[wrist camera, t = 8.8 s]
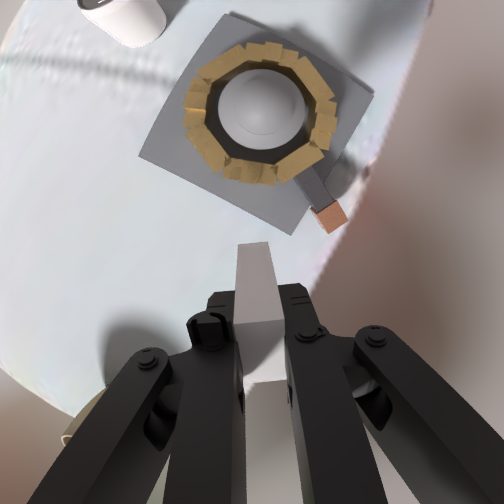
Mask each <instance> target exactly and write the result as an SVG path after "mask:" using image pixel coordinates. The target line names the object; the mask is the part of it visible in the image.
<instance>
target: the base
mask: <svg viewBox="0 0 504 504" xmlns="http://www.w3.org/2000/svg"><path fill="white" fill-rule="evenodd" d="M247 42H248V43H255V44H261V45H265V42H272V43H277V44H282V45H283V46H282V48H283V49H288V50H293V51H297V52H299V53H298V59H300V58H302V57H304V56H306V57H307V59H308V60H309V61H310V62H311V64H312V65H313V66H314V68H315V69H316V70H317V71H318V73H319V74H320V75H321V77H322V78H323V79H324V81H325V82H326V84H327V85H328V86H329V88H330V89H331V91H332V92H333V93H334V95H335V96H334V97H333V98H331V99H329V100H328V101H332V102H335V103H337V106H336V112H335V117H337V118H338V119H337V125H336V130H335V134H332V135H331V140H330V146H329V151H326V150H321V152H322V153H323V155H324V157H323V158H322V159H320V160H319V161H317V162H316V163H314V164H313V165H312V167H313V169H314V170H315V172H316V173H317V175H318V176H319V178H320V180H321V181H322V183H324V181H325V180H326V178H327V176H328V175H329V173H330V171H331V170H332V168H333V166H334V165H335V163H336V161H337V159H338V158H339V156H340V154H341V153H342V151H343V149H344V148H345V146H346V144H347V143H348V141H349V139H350V137H351V136H352V134H353V132H354V131H355V129H356V127H357V125H358V124H359V122H360V120H361V118H362V117H363V115H364V113H365V112H366V110H367V108H368V106H369V105H370V103H371V101H372V99H373V97H374V96H373V95H372V94H371V93H369V92H368V91H367V90H365V89H364V88H363V87H361V86H360V85H358V84H357V83H356V82H354V81H353V80H351V79H350V78H349V77H347V76H346V75H344V74H343V73H341V72H340V71H338V70H337V69H335V68H334V67H332V66H330V65H329V64H327V63H326V62H324V61H322V60H321V59H319V58H317V57H316V56H314V55H312V54H311V53H309V52H307V51H305V50H304V49H302V48H300V47H298V46H296V45H295V44H293V43H291V42H289V41H287V40H285V39H283V38H281V37H279V36H277V35H275V34H273V33H271V32H268V31H266V30H264V29H262V28H260V27H257V26H255V25H253V24H250V23H248V22H246V21H243V20H241V19H238V18H236V17H233V16H230V15H228V14H224V15H223V16H222V18H221V19H220V20H219V21H218V23H217V24H216V25H215V27H214V28H213V29H212V31H211V32H210V33H209V35H208V36H207V37H206V39H205V40H204V42H203V43H202V44H201V46H200V47H199V49H198V50H197V52H196V53H195V55H194V56H193V58H192V59H191V61H190V62H189V64H188V65H187V67H186V68H185V70H184V72H183V73H182V75H181V76H180V78H179V80H178V81H177V83H176V85H175V86H174V88H173V90H172V91H171V93H170V95H169V97H168V98H167V100H166V102H165V104H164V105H163V107H162V109H161V111H160V113H159V115H158V117H157V118H156V120H155V122H154V124H153V126H152V128H151V130H150V132H149V134H148V136H147V138H146V140H145V142H144V145H143V147H142V149H141V151H140V153H139V155H138V156H139V157H141V158H143V159H145V160H147V161H149V162H151V163H153V164H155V165H157V166H159V167H161V168H163V169H165V170H167V171H169V172H171V173H173V174H175V175H177V176H179V177H181V178H183V179H185V180H187V181H189V182H191V183H193V184H195V185H197V186H199V187H201V188H203V189H205V190H207V191H209V192H210V193H212V194H214V195H216V196H218V197H220V198H222V199H224V200H226V201H228V202H230V203H231V204H233V205H235V206H237V207H239V208H241V209H243V210H245V211H246V212H248V213H250V214H252V215H254V216H256V217H258V218H259V219H261V220H263V221H265V222H267V223H269V224H270V225H272V226H274V227H276V228H278V229H280V230H281V231H283V232H285V233H287V234H289V235H290V236H291V235H292V233H293V232H294V230H295V228H296V227H297V225H298V224H299V222H300V220H301V219H302V217H303V216H304V214H305V212H306V211H307V209H308V207H309V206H310V203H309V202H308V200H307V199H306V197H305V196H304V194H303V193H302V191H301V190H300V188H299V187H298V185H297V184H296V182H295V181H294V179H293V178H291V179H290V180H288V181H287V182H286V183H284V184H283V185H282V184H281V183H280V182H279V181H278V180H277V179H276V182H275V186H270V185H264V184H251V183H244V182H240V181H239V180H232V179H226V178H222V175H223V169H224V168H223V169H222V170H220V171H219V172H218V173H216V174H215V173H214V172H213V170H212V169H211V168H210V166H209V165H208V164H207V162H206V161H205V160H204V159H203V157H202V156H201V155H200V153H199V152H198V151H197V149H196V148H195V147H194V145H193V144H192V143H191V142H190V140H189V139H188V138H187V136H186V135H185V134H184V133H185V132H187V131H188V130H189V128H186V127H183V120H184V114H185V109H184V108H183V105H184V100H185V95H186V91H187V92H189V87H190V83H191V78H200V77H199V76H198V74H197V72H196V71H197V70H199V69H200V68H201V67H203V66H204V65H206V64H207V63H209V62H210V61H212V60H214V59H215V58H217V57H218V56H220V55H222V54H223V53H225V52H226V51H228V50H230V49H231V48H233V47H235V46H237V45H238V44H240V45H241V46H242V47H243V48H244V49H245V50H246V45H247ZM298 59H297V60H298ZM307 112H308V105H307V104H306V103H305V101H304V99H303V97H302V94H301V92H300V90H299V89H298V87H297V86H296V85H295V84H294V83H293V82H292V81H291V80H290V79H289V78H288V77H286V76H284V75H283V74H280V73H278V72H275V71H272V70H267V69H255V70H246V71H245V72H243V73H241V74H239V75H238V76H236V77H235V78H233V79H232V80H230V81H229V82H227V83H226V84H224V85H223V86H221V87H220V88H218V89H217V90H215V94H214V99H213V105H212V110H211V116H210V121H209V128H210V129H211V131H212V132H213V133H214V135H215V136H216V137H217V139H218V140H219V141H220V142H221V144H222V145H223V146H224V148H225V149H226V150H227V152H228V153H229V154H230V156H231V157H234V158H241V159H248V160H254V161H260V162H266V163H272V162H273V161H275V160H276V159H278V158H279V157H281V156H282V155H284V154H285V153H287V152H288V151H290V150H291V149H293V148H294V147H296V146H297V145H299V144H300V143H302V140H303V135H304V129H305V124H306V118H307Z"/></svg>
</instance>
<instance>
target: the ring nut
mask: <svg viewBox="0 0 504 504" xmlns="http://www.w3.org/2000/svg"><path fill="white" fill-rule="evenodd" d="M282 46H283V45H282V44H277V43H272V42H265V45H261V44H255V43H248V42H247V45H246V50H245V49H244V48H243V47H242V46H241V45H240V44H238V45H237V46H235V47H233V48H231V49H230V50H228V51H226V52H225V53H223V54H222V55H220V56H218V57H217V58H215V59H214V60H212V61H210V62H209V63H207V64H206V65H204V66H203V67H201V68H200V69H199V70H197V71H196V72H197V74H198V76H199V77H200V78H191V83H190V87H189V92H187V91H186V95H185V100H184V105H183V108H184V109H185V114H184V120H183V127H186V128H189V130H188V131H187V132H185V133H184V134H185V135H186V136H187V138H188V139H189V140H190V142H191V143H192V144H193V145H194V147H195V148H196V149H197V151H198V152H199V153H200V155H201V156H202V157H203V159H204V160H205V161H206V162H207V164H208V165H209V166H210V168H211V169H212V170H213V172H214V173H215V174H216V173H218V172H219V171H220V170H222V169H223V168H224V169H223V175H222V178H226V179H232V180H239V181H240V182H244V183H251V184H264V185H270V186H275V182H276V179H277V180H278V181H279V182H280V183H281V184H282V185H283V184H284V183H286V182H287V181H288V180H290V179H291V178H293V179H294V181H295V182H296V184H297V185H298V187H299V188H300V190H301V191H302V193H303V194H304V196H305V197H306V199H307V200H308V202H309V203H310V205H311V206H312V207H311V208H310V210H311V211H312V213H313V215H314V216H315V218H316V219H317V221H318V222H319V224H320V226H321V227H322V228H323V229H324V230H325V231H326V232H327V233H328V234H329V233H331V232H332V231H334V230H335V229H337V228H338V227H340V226H341V225H343V224H344V223H346V222H347V221H348V219H347V217H346V215H345V213H344V212H343V210H342V208H341V206H340V205H339V203H338V201H337V200H335V199H333V198H332V197H331V196H330V194H329V192H328V191H327V189H326V188H325V186H324V184H323V183H322V181H321V180H320V178H319V176H318V175H317V173H316V172H315V170H314V169H313V167H312V165H313V164H314V163H316V162H317V161H319V160H320V159H322V158H323V157H324V155H323V153H322V152H321V150H326V151H329V146H330V140H331V135H332V134H335V130H336V125H337V119H338V118H337V117H335V112H336V106H337V103H335V102H332V101H328V100H329V99H331V98H333V97H334V96H335V95H334V93H333V92H332V91H331V89H330V88H329V86H328V85H327V84H326V82H325V81H324V79H323V78H322V77H321V75H320V74H319V73H318V71H317V70H316V69H315V68H314V66H313V65H312V64H311V62H310V61H309V60H308V59H307V57H306V56H304V57H302V58H300V59H298V53H299V52H297V51H293V50H288V49H283V48H282ZM297 59H298V60H297ZM255 69H267V70H272V71H275V72H278V73H280V74H283V75H284V76H286V77H288V78H289V79H290V80H291V81H292V82H293V83H294V84H295V85H296V86H297V87H298V89H299V90H300V92H301V94H302V97H303V99H304V101H305V103H306V104H307V105H308V112H307V118H306V124H305V129H304V135H303V140H302V143H300V144H299V145H297V146H296V147H294V148H293V149H291V150H290V151H288V152H287V153H285V154H284V155H282V156H281V157H279V158H278V159H276V160H275V161H273V162H272V163H266V162H260V161H254V160H248V159H241V158H234V157H231V156H230V154H229V153H228V152H227V150H226V149H225V148H224V146H223V145H222V144H221V142H220V141H219V140H218V139H217V137H216V136H215V135H214V133H213V132H212V131H211V129H210V128H209V121H210V116H211V110H212V105H213V99H214V94H215V90H217V89H218V88H220V87H221V86H223V85H224V84H226V83H227V82H229V81H230V80H232V79H233V78H235V77H236V76H238V75H239V74H241V73H243V72H245V71H246V70H255Z"/></svg>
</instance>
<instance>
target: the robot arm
mask: <svg viewBox="0 0 504 504" xmlns="http://www.w3.org/2000/svg"><path fill="white" fill-rule="evenodd" d="M186 326H187V329H188V333H189V336H190V339H191V343H192V348H191V349H190V350H188V351H186V352H183V353H180V354H176V355H172V356H168V355H167V353H166V352H165V351H164V350H162V349H159V348H151V347H150V348H146V349H142V350H140V351H138V352H136V353H135V354H134V355H133V356H132V357H131V358H130V359H129V360H128V362H127V363H126V364H125V366H124V367H123V368H122V370H121V371H120V372H119V373H118V375H117V376H116V377H115V379H114V380H113V381H112V383H111V384H110V385H109V387H108V388H107V389H106V391H105V392H104V393H103V395H102V396H101V397H100V399H99V400H98V401H97V403H96V404H95V406H94V407H93V408H92V410H91V411H90V412H89V414H88V415H87V416H86V418H85V419H84V421H83V422H82V423H81V425H80V426H79V428H78V429H77V430H76V432H75V433H74V435H73V436H72V437H71V439H70V440H69V442H68V443H67V444H66V446H65V447H64V449H63V450H62V452H61V453H60V455H59V456H58V457H57V459H56V460H55V462H54V463H53V465H52V466H51V468H50V469H49V471H48V472H47V474H46V475H45V477H44V478H43V480H42V481H41V483H40V484H39V486H38V487H37V489H36V490H35V492H34V493H33V495H32V496H31V498H30V499H29V501H28V503H27V504H146V503H147V500H148V498H149V496H150V494H151V492H152V490H153V488H154V486H155V484H156V482H157V480H158V478H159V476H160V474H161V472H162V470H163V468H164V466H165V464H166V461H167V459H168V457H169V455H170V460H169V466H168V472H167V478H166V484H165V490H164V497H163V504H247V493H246V440H245V439H246V438H245V393H244V388H243V380H244V383H255V382H266V381H276V380H285V379H287V385H288V386H287V387H288V403H289V404H290V411H291V417H292V424H293V431H294V438H295V445H296V452H297V459H298V465H299V474H300V481H301V489H302V495H303V503H304V504H388V501H387V498H386V495H385V491H384V488H383V484H382V481H381V477H380V474H379V471H378V468H377V465H376V461H375V458H374V455H373V452H372V449H371V446H370V443H369V440H368V437H367V434H366V431H365V428H364V425H365V426H366V428H367V429H368V431H369V432H370V433H371V435H372V436H373V438H374V439H375V441H376V442H377V444H378V445H379V446H380V448H381V449H382V451H383V452H384V453H385V455H386V456H387V458H388V459H389V461H390V462H391V463H392V465H393V466H394V468H395V469H396V470H397V472H398V473H399V475H400V476H401V477H402V479H403V480H404V482H405V483H406V484H407V486H408V487H409V489H410V490H411V491H412V493H413V494H414V496H415V497H416V498H417V500H418V501H419V503H420V504H504V440H503V439H502V437H501V436H500V435H499V434H498V433H497V432H496V431H495V430H494V429H493V428H492V427H491V426H490V425H489V424H488V423H487V422H486V421H485V420H484V419H483V418H482V417H481V416H480V415H479V414H478V413H477V412H476V411H475V410H474V409H473V408H472V406H470V405H469V404H468V402H467V401H465V400H464V399H463V398H462V397H461V396H460V395H459V394H458V393H457V392H456V391H455V390H454V389H453V388H452V387H451V386H450V385H449V384H448V383H447V382H446V381H445V380H444V379H443V378H442V377H441V376H440V375H439V374H438V373H437V372H436V371H434V369H433V368H431V367H430V366H429V365H428V364H427V363H426V362H425V361H424V360H423V359H422V358H421V357H420V356H419V355H418V354H417V353H415V352H414V351H413V350H412V349H411V348H410V347H409V346H408V345H407V344H406V343H405V342H404V341H402V340H401V339H400V338H399V337H398V336H397V335H396V334H395V333H394V332H393V331H391V330H390V329H388V328H386V327H383V326H377V325H371V326H366V327H363V328H362V329H360V330H359V331H358V332H357V334H356V336H355V338H353V337H340V336H335V335H332V334H330V333H329V331H328V330H327V329H326V327H324V326H322V325H321V324H320V323H319V320H318V317H317V315H316V312H315V309H314V307H313V304H312V302H311V299H310V297H309V294H308V291H307V289H306V288H305V287H304V286H302V285H301V284H300V283H295V284H286V285H277V281H276V277H275V272H274V268H273V263H272V258H271V254H270V249H269V245H268V242H259V243H249V244H239V245H238V255H237V270H236V286H235V290H234V291H223V292H214V293H213V295H212V296H211V297H210V298H209V299H208V303H207V308H206V311H202V312H200V313H197V314H195V315H194V316H192V317H191V318H190V319H189V320H188V322H187V323H186ZM363 423H364V425H363ZM170 453H171V454H170Z"/></svg>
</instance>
